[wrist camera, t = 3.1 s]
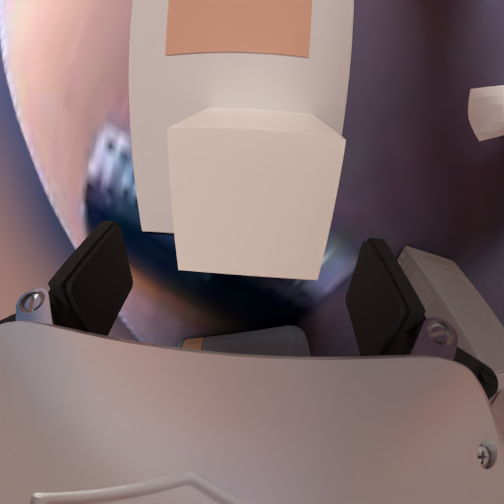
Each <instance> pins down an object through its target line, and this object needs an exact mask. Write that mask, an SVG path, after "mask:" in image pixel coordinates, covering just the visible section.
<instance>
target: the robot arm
mask: <svg viewBox="0 0 504 504" xmlns="http://www.w3.org/2000/svg"><path fill="white" fill-rule="evenodd" d="M48 284H49V287H50V291H49V292H47V291H46V290H45V289H43V288H35V289H31V290H30V291H27V292H26V293H25V294H23V295H22V296H21V297H20V299H19V300H18V302H17V304H16V314H13V315H11V316H9V317H7V318H5V319H3V320H1V321H0V504H504V390H503V389H501V390H500V391H498V379H497V376H496V374H495V373H494V371H493V370H492V369H491V368H490V367H489V366H487V365H486V364H484V363H482V362H481V361H479V360H478V359H476V358H475V357H473V356H472V355H470V354H468V353H467V352H465V351H464V350H462V349H460V348H459V347H457V344H458V336H457V332H456V331H455V329H454V327H453V326H452V325H451V324H450V323H448V322H447V321H445V320H443V319H441V318H437V317H431V318H428V319H427V318H426V316H425V315H424V313H425V312H426V310H425V308H424V306H423V304H422V303H421V301H420V299H419V297H418V295H417V294H416V292H415V290H414V288H413V286H412V285H411V283H410V281H409V280H408V278H407V276H406V274H405V273H404V271H403V269H402V268H401V266H400V265H399V263H398V261H397V260H396V258H395V256H394V255H393V253H392V252H391V250H390V249H389V247H388V245H387V244H386V242H385V241H384V240H383V239H377V238H369V239H368V240H367V241H364V242H363V244H362V247H361V250H360V254H359V257H358V260H357V264H356V267H355V270H354V273H353V277H352V280H351V283H350V286H349V289H348V292H347V295H346V305H347V308H348V311H349V315H350V318H351V321H352V325H353V328H354V332H355V336H356V339H357V343H358V347H359V350H360V354H361V356H350V357H295V356H268V355H250V354H236V353H224V352H213V351H203V350H194V349H186V348H178V347H170V346H163V345H156V344H150V343H143V342H137V341H131V340H125V339H120V338H114V337H110V336H108V334H109V332H110V329H111V328H112V326H113V323H114V322H115V320H116V318H117V316H118V314H119V312H120V310H121V308H122V306H123V304H124V302H125V300H126V298H127V296H128V294H129V292H130V291H131V289H132V285H133V280H132V275H131V271H130V267H129V262H128V258H127V253H126V248H125V244H124V239H123V233H122V229H121V226H119V225H118V224H117V223H116V222H110V221H103V222H101V223H100V224H99V225H98V226H97V227H96V228H95V229H94V230H93V232H92V233H91V234H90V235H89V236H88V237H87V238H86V239H85V240H84V241H83V242H82V243H81V245H80V246H79V247H78V248H77V249H76V250H75V251H74V253H73V254H72V255H71V256H70V257H69V258H68V259H67V261H66V262H65V263H64V264H63V265H62V267H61V268H60V269H59V270H58V271H57V273H56V274H55V275H54V277H52V279H51V280H50V281H49V283H48Z"/></svg>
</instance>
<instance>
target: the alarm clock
mask: <svg viewBox="0 0 504 504" xmlns="http://www.w3.org/2000/svg"><path fill="white" fill-rule="evenodd" d="M176 347H178V348H186V349H194V350H203V351H213V352H224V353H236V354H250V355H268V356H295V357H311V354H310V350H309V345H308V341H307V338H306V335H305V333H304V331H303V330H302V329H300V328H299V327H297V326H293V325H285V326H279V327H273V328H267V329H261V330H254V331H247V332H240V333H233V334H225V335H217V336H209V337H200V338H190V339H185V340H182V341H180V342H178V344H177V345H176Z"/></svg>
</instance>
